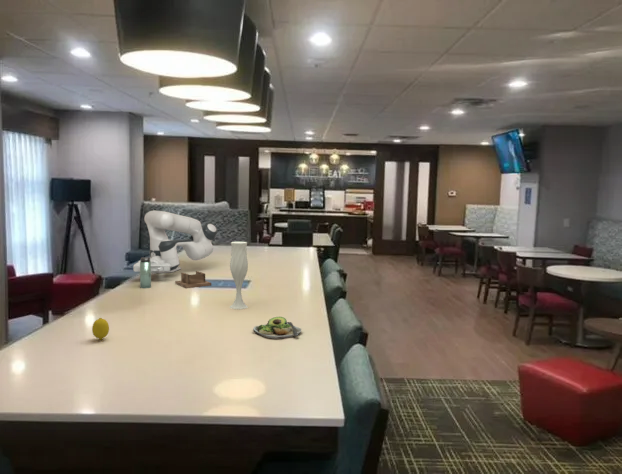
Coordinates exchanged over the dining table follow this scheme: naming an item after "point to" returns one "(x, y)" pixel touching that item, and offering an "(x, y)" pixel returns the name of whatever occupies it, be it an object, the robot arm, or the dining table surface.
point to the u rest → (193, 280)
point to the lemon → (100, 328)
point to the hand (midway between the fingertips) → (150, 269)
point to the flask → (145, 273)
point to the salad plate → (277, 329)
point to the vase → (238, 271)
